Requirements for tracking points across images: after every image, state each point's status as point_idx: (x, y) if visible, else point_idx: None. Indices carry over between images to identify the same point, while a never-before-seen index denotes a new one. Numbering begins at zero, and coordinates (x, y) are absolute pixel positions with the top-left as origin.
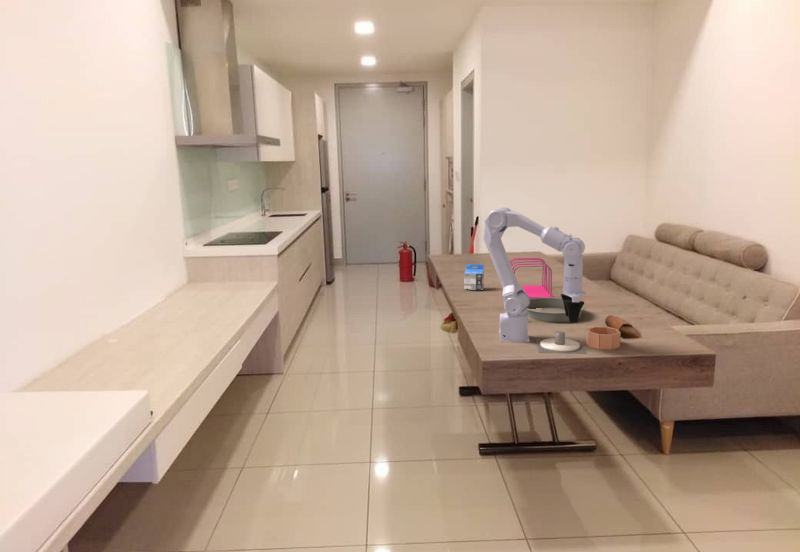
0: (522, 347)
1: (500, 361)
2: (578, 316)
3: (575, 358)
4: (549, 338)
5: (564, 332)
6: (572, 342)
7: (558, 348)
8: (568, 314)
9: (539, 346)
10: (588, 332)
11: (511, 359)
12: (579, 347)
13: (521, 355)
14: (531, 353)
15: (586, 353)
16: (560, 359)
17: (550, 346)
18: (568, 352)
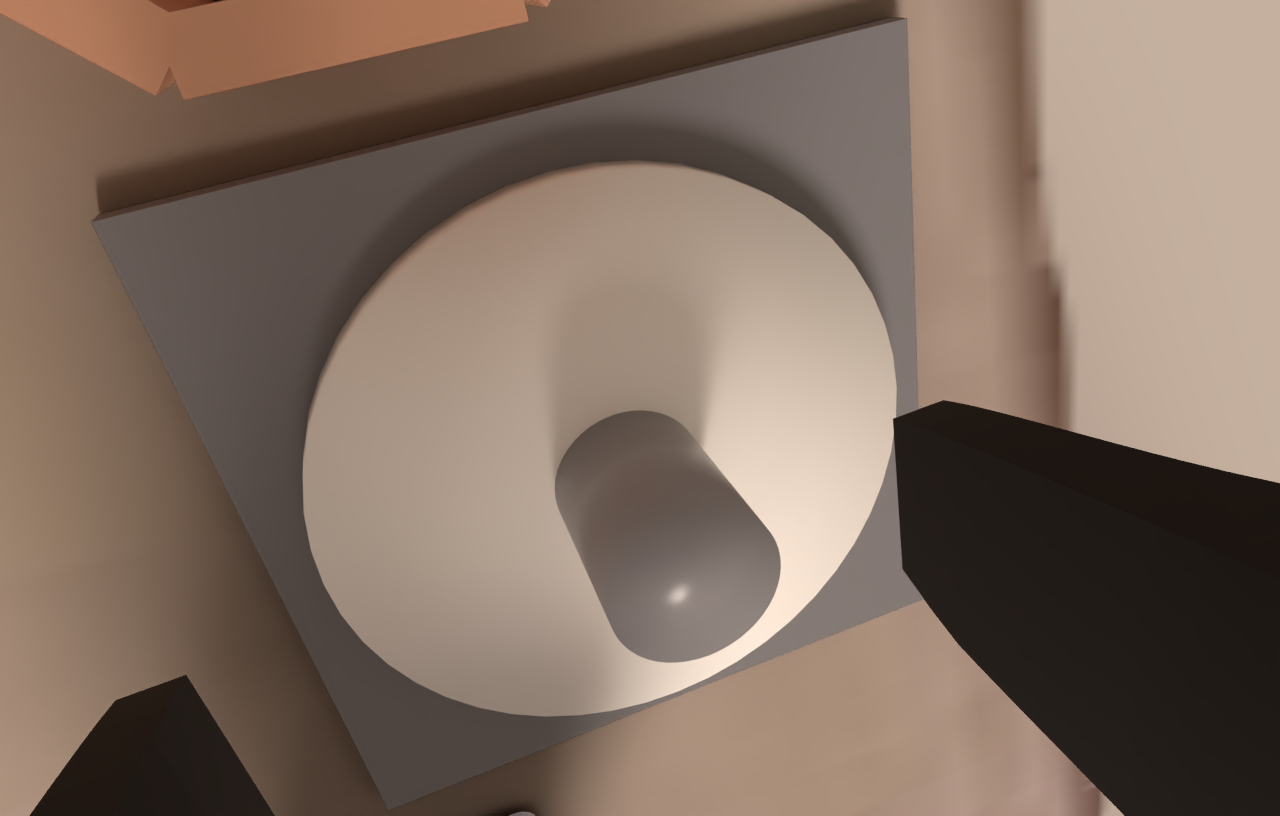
0: (707, 794)
1: None
2: (1149, 454)
3: (1025, 171)
4: (402, 673)
5: (665, 528)
6: (510, 313)
7: (853, 444)
8: (1085, 764)
9: None
10: (518, 21)
11: None
12: (659, 163)
13: (956, 707)
14: (889, 657)
15: (899, 21)
16: (1060, 342)
17: (782, 554)
18: (883, 294)
